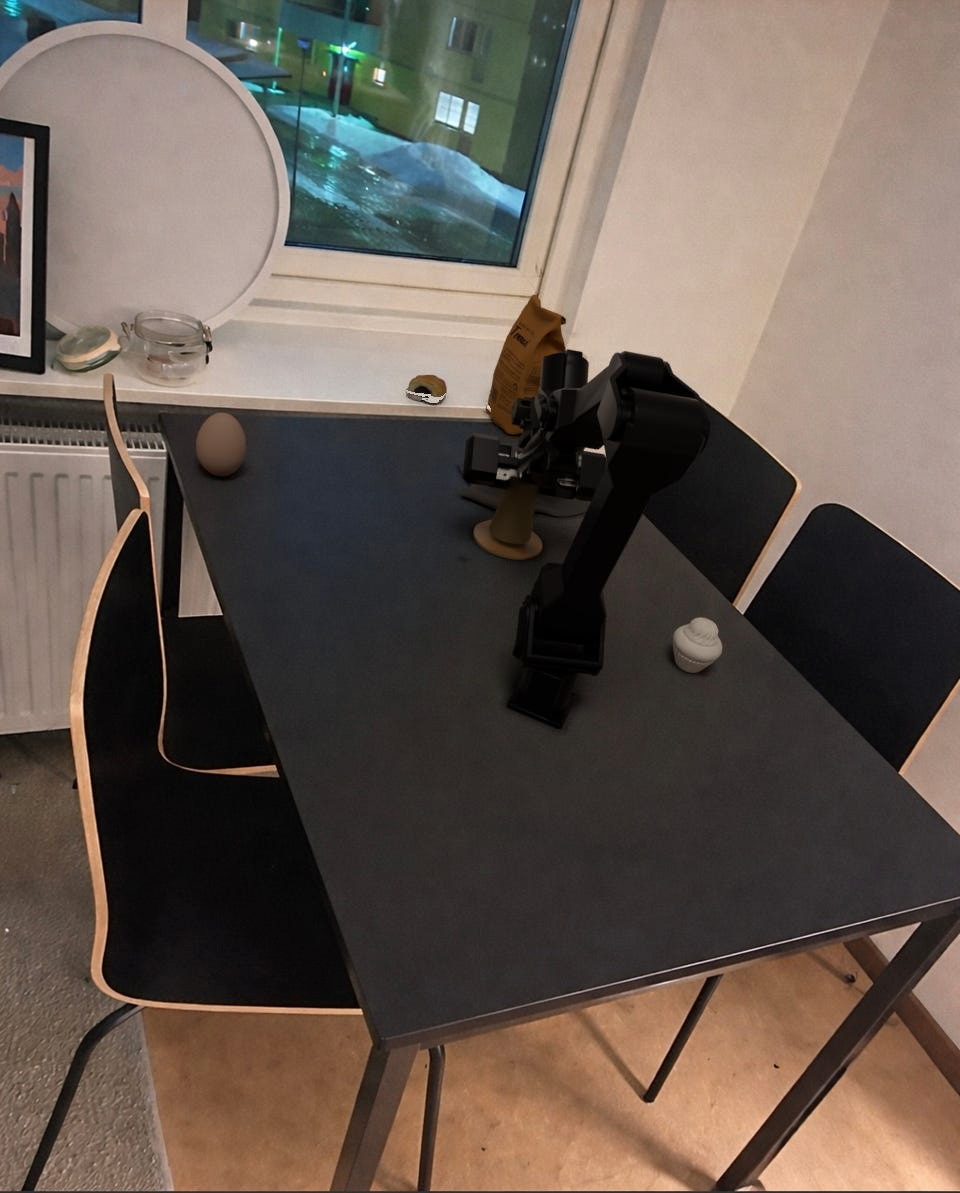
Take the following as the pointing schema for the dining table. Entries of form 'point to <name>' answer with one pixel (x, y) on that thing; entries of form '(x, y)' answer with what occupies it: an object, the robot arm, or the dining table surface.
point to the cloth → (542, 503)
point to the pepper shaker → (515, 513)
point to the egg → (221, 444)
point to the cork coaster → (506, 544)
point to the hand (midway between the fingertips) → (519, 487)
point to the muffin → (696, 645)
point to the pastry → (426, 387)
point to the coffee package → (524, 360)
